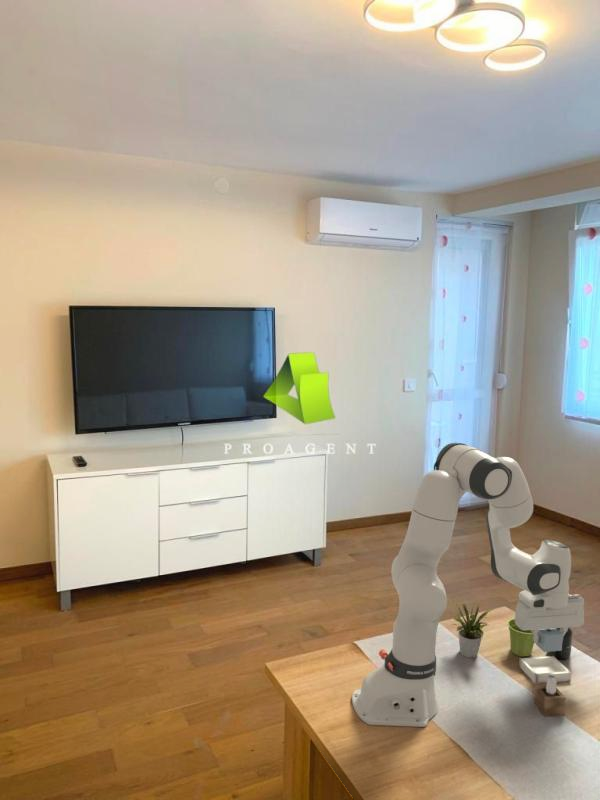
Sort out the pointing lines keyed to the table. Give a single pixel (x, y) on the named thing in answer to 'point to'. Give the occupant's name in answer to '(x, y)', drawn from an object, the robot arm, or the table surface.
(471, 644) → the house plant
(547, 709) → the walnut block
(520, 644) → the plant pot
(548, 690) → the pin gauge
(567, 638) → the supplement bottle
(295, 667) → the table surface
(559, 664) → the off-white tray
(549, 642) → the slate-blue block
